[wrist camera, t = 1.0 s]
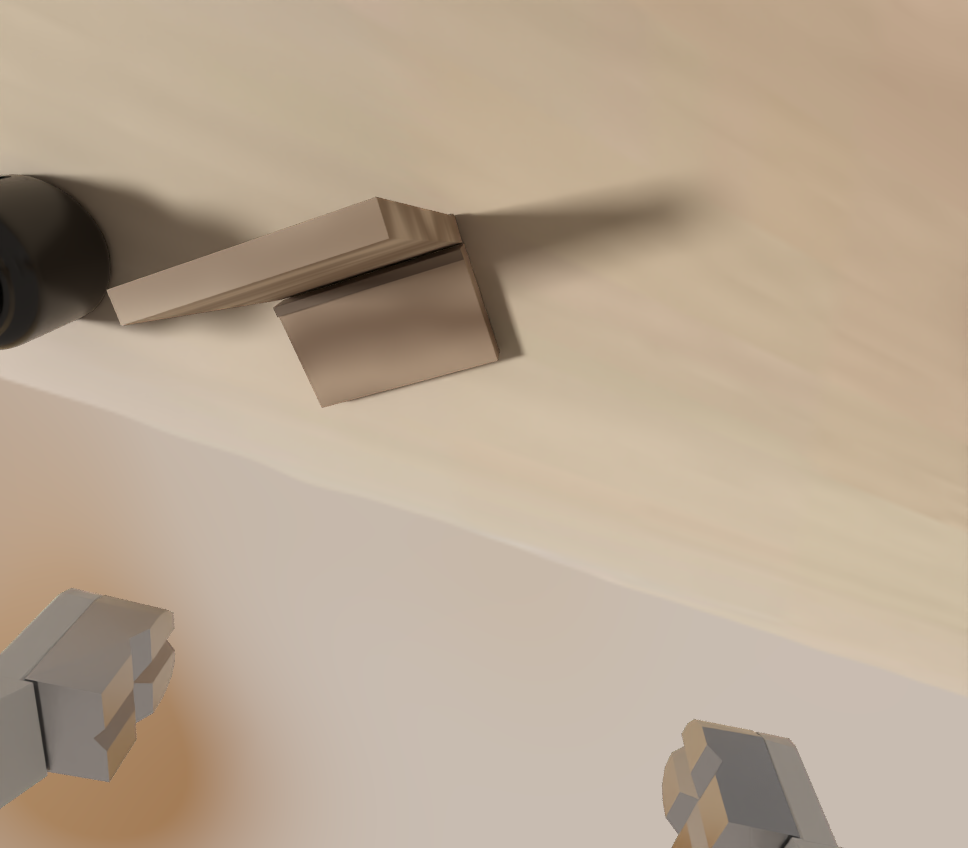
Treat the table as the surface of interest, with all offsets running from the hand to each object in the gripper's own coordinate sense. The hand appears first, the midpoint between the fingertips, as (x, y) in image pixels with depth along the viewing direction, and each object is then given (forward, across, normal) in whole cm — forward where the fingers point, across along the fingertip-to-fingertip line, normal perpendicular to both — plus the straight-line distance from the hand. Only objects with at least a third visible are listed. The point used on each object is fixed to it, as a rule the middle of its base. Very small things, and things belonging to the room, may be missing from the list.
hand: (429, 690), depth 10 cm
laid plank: (+31, +6, +5) cm, 32 cm away
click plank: (+31, +9, +1) cm, 32 cm away
